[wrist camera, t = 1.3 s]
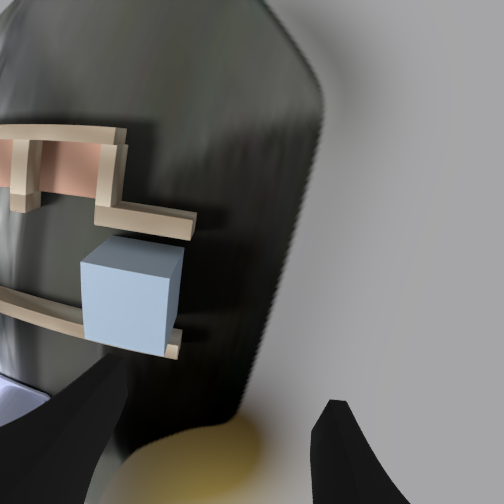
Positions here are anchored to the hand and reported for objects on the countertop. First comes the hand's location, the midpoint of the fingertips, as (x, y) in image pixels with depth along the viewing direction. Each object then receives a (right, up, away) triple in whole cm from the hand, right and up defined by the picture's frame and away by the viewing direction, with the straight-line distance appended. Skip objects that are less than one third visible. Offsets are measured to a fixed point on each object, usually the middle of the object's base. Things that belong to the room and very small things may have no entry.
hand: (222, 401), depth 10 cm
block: (-6, +3, +11) cm, 13 cm away
